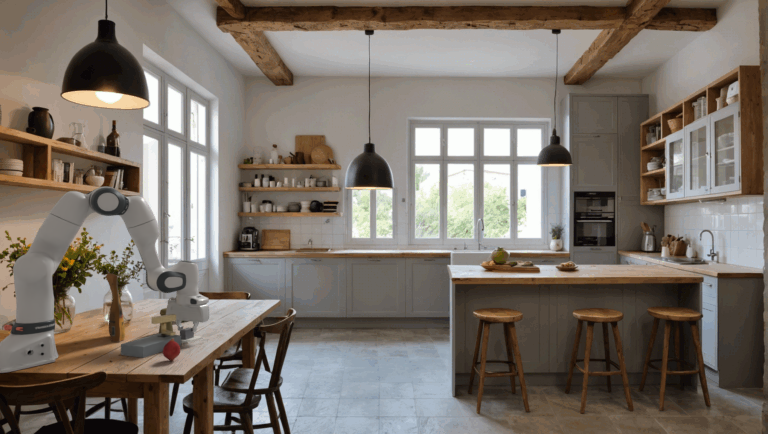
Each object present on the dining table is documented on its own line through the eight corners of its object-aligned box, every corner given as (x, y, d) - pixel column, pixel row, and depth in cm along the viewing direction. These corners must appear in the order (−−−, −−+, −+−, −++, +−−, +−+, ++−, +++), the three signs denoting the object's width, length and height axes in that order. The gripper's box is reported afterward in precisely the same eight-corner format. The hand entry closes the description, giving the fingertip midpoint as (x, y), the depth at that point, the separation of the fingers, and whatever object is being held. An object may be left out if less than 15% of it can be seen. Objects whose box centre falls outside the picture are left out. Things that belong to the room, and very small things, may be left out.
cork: (167, 334, 212) (167, 309, 212) (155, 333, 214) (155, 309, 214) (176, 331, 218) (176, 307, 218) (164, 331, 219) (164, 307, 220)
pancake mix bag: (107, 344, 195) (108, 275, 195) (105, 334, 211) (106, 271, 211) (126, 342, 198) (127, 274, 199) (122, 333, 215) (123, 270, 215)
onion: (162, 363, 170) (162, 341, 170) (162, 359, 175) (163, 337, 175) (180, 362, 172) (180, 339, 172) (180, 357, 177) (180, 336, 177)
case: (143, 357, 177) (143, 346, 177) (120, 354, 180) (120, 343, 180) (180, 345, 194) (181, 334, 195) (159, 342, 198) (159, 332, 198)
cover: (187, 344, 198) (188, 331, 198) (170, 342, 201) (170, 330, 201) (202, 339, 206) (202, 327, 206) (185, 337, 209) (185, 325, 209)
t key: (183, 335, 192) (184, 316, 193) (162, 339, 185) (162, 320, 185) (172, 332, 197) (173, 313, 197) (151, 336, 190) (151, 317, 190)
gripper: (162, 298, 204) (162, 330, 204) (201, 301, 197) (201, 334, 197) (173, 296, 210) (173, 327, 210) (212, 299, 203) (211, 331, 203)
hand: (187, 331), depth 203 cm, fingers open, 5 cm apart
